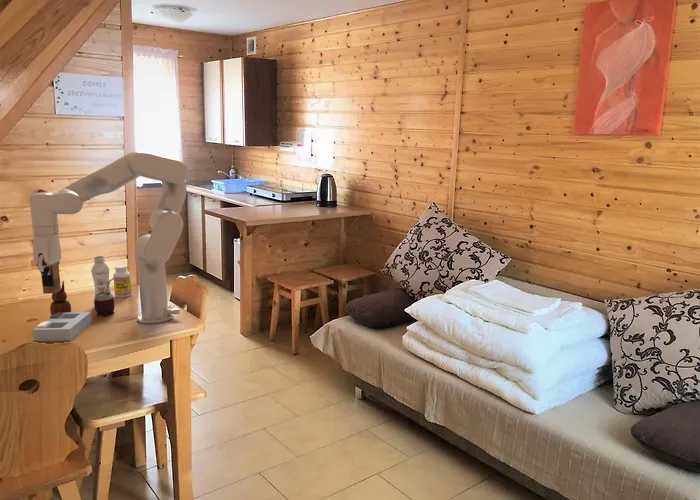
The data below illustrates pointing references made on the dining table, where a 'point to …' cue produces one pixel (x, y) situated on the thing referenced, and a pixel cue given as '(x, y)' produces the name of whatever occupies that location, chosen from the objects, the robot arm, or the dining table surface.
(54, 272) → the plug
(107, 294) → the mate gourd
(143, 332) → the dining table surface
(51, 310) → the wooden figurine
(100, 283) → the plastic bottle
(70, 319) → the socket board
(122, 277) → the supplement bottle
